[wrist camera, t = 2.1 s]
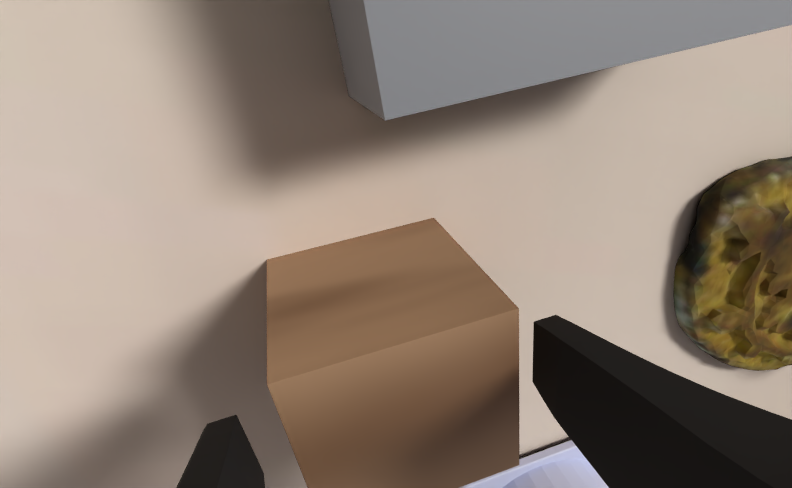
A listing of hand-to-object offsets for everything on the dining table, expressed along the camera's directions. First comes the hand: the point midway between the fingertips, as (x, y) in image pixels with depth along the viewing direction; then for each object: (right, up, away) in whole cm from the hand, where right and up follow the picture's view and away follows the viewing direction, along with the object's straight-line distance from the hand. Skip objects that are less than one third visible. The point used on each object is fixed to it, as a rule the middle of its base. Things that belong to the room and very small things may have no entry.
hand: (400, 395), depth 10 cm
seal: (+17, +3, +9) cm, 19 cm away
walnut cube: (-1, +2, +4) cm, 4 cm away
